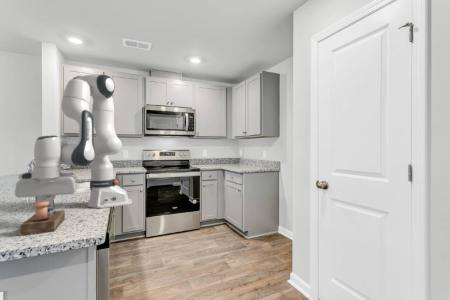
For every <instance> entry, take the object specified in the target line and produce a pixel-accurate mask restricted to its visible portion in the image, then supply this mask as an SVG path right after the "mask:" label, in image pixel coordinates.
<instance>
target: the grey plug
mask: <svg viewBox="0 0 450 300" xmlns="http://www.w3.org/2000/svg"><path fill="white" fill-rule="evenodd" d="M55 209H56V204H54V205H52V206H47V216H48V215H54V211H55Z"/></svg>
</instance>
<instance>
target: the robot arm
mask: <svg viewBox="0 0 450 300" xmlns="http://www.w3.org/2000/svg"><path fill="white" fill-rule="evenodd" d="M115 88H116V85H115V82H114V80H113V79H112V77H111V76H110V75H107V74H88V75H87V74H86V75H77V76H74V77H73V78H72V79H70V80H69V81H68V82H67V84H66V86H65V88H64V90H63V93H62V94H63V95H62V98H61V105H60V107H61V111H62V113H63V114H64V115H65V116H66V117H67V118H69V119H71V120H74V121H76V123H77V125H78V128H79V129H78V142H77V143H68V142H66V141H63V140H62V139H61V138H60V137H59V136H58V135H43V136H42V135H41V136H39V137H37V138H36V139H35V141H34V142H35V143H34V150H33V153H34V154H33V157H34V160H35V162H34V165H33V170H29V171H27V172H23V173H20V174H19V175H18V179H19V180H18V181H17V182H16V183H15V184H16V185H15V190H14V195H15V197H16V198H32V197H35V196H39V199H40V200H41V202H42V201H45V199H44V198H45V196H50V198H52V199H51V200H50V201H49V205H48V206H52V201H53V200H54V201H55V199H56V197H57V196H61V195H62V196H64V195H74V194H75V193H76V192H77V181H78V176H77V174H75V173H74V172H62V166H61V165H67V166H69V165H70V166H71V165H72V166H81V167H86V166H87V167H88V165H90V181H89V189H90V190H89V191H90V193H89V194H90V195H89V200H88V203H87V207H88V208H97V209H105V208H106V209H107V208H113V207H118V206H119V207H121V206H127V205H130V204H132V202H133V200H132V199H133V198H130V197H129V195H128V192H127V190H125V189H124V188H122V187H120V186H119V185H118V183H119V181H118V180H117V179H115V178H114V164H113V163H112V162H111V161H110V158H109V156H113V155H118V153H120V152H121V150H122V148H123V143H122V141H121V139H120V138H119V137H118V135H117V132H116V129H115V104H114V103H115V102H114V97H113V95H114V92H115ZM91 98H92V108H91V111H90V104H91ZM94 132H95V134H96V136H94Z"/></svg>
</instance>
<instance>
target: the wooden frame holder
mask: <svg viewBox="0 0 450 300" xmlns="http://www.w3.org/2000/svg"><path fill="white" fill-rule="evenodd" d="M65 219H66V210H56V211H55V210H54V215H48V216H47V218H46V219H42V220H35V214H34V215H32V216H31V217H30V218H28V219H27V220H25V221H24V222H22V223H21V224H20V236H21V237H22V236H30V235H38V234H45V233H53V232H55V231H56V230H57V229H58V228H59V227H60V225H61V224H62V223H63V222H64V221H65Z"/></svg>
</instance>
